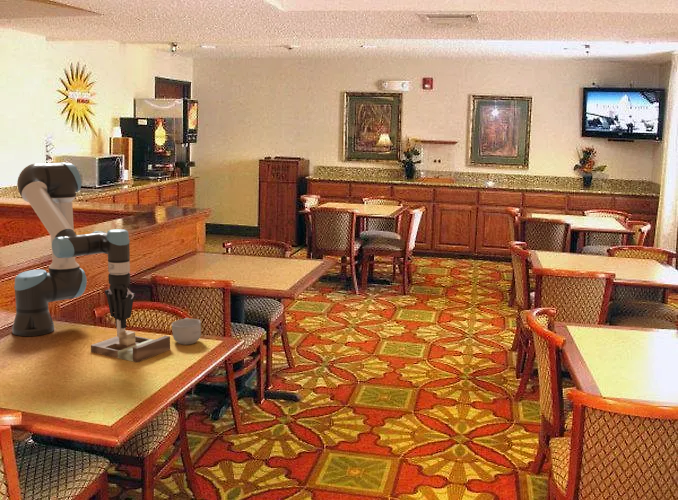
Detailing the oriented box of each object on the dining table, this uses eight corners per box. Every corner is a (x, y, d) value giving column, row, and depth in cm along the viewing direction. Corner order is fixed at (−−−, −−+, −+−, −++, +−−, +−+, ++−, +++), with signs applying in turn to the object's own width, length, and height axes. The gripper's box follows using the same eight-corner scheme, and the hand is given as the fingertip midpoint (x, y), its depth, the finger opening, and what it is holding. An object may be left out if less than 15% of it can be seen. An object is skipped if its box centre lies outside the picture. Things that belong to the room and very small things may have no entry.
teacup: (197, 347, 279) (197, 326, 277) (168, 346, 279) (168, 325, 278) (205, 336, 293) (205, 316, 291) (177, 335, 293) (177, 315, 291)
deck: (90, 351, 271) (90, 338, 270) (125, 339, 285) (124, 327, 284) (137, 362, 260) (136, 348, 260) (170, 349, 275) (169, 336, 274)
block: (119, 343, 272) (118, 333, 272) (127, 340, 276) (126, 330, 275) (127, 345, 271) (127, 334, 270) (135, 342, 274) (135, 332, 273)
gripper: (98, 272, 270) (100, 336, 274) (125, 276, 264) (127, 341, 268) (113, 269, 276) (115, 331, 280) (140, 273, 270) (142, 336, 274)
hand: (121, 336), depth 274 cm, fingers closed
